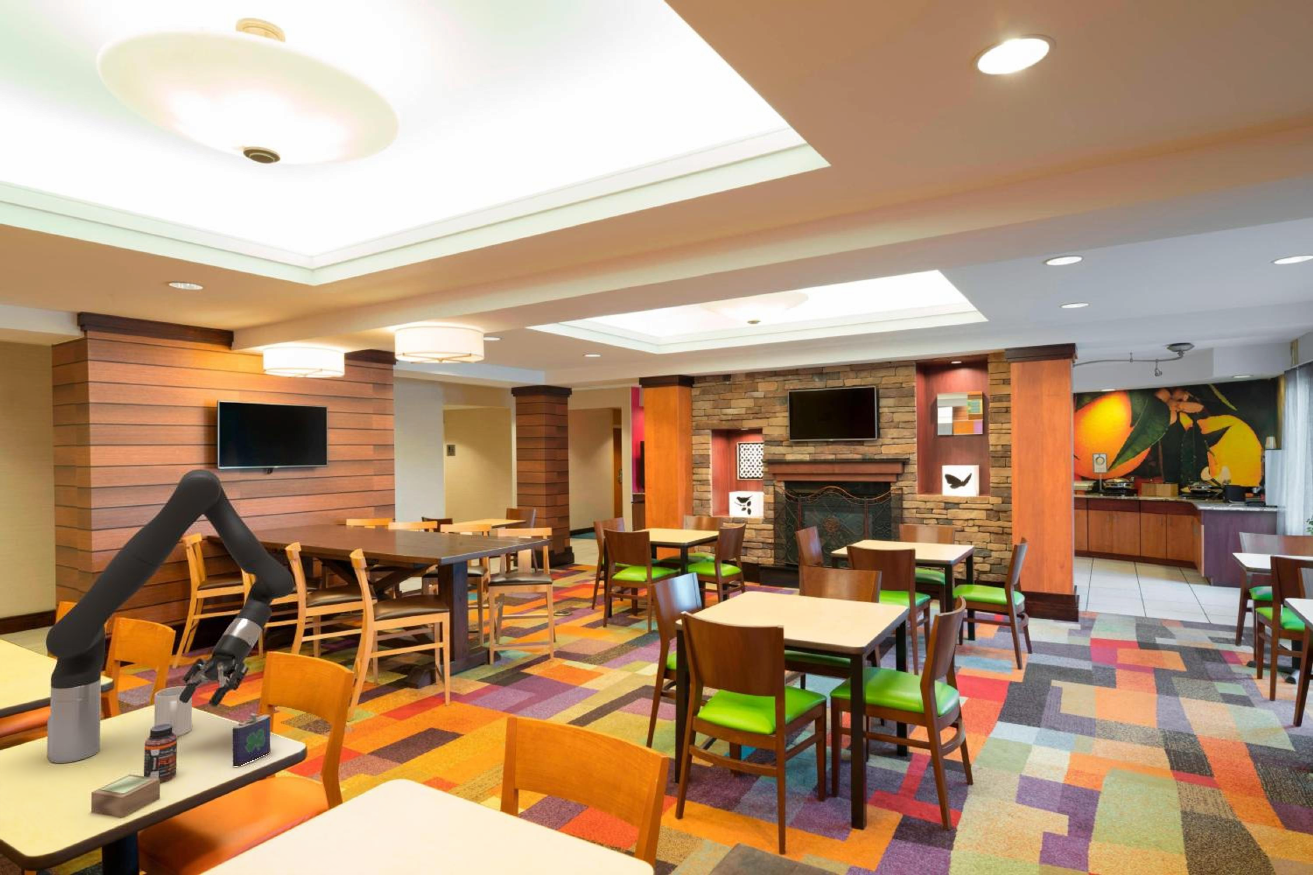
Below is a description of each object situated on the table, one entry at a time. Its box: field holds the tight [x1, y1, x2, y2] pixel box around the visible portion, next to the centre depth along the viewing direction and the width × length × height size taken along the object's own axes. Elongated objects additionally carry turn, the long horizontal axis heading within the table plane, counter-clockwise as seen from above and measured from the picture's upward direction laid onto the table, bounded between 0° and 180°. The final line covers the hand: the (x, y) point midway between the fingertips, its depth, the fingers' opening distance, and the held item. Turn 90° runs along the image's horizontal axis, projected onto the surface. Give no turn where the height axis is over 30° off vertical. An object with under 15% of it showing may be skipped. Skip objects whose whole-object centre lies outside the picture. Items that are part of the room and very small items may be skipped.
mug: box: [153, 685, 193, 737], centre depth 179 cm, size 12×8×10 cm, turn 34°
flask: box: [231, 712, 271, 767], centre depth 166 cm, size 9×3×11 cm, turn 157°
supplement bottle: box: [143, 724, 178, 783], centre depth 157 cm, size 6×6×11 cm
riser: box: [90, 773, 161, 819], centre depth 145 cm, size 8×8×4 cm
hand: (197, 703), depth 166 cm, fingers open, 8 cm apart
